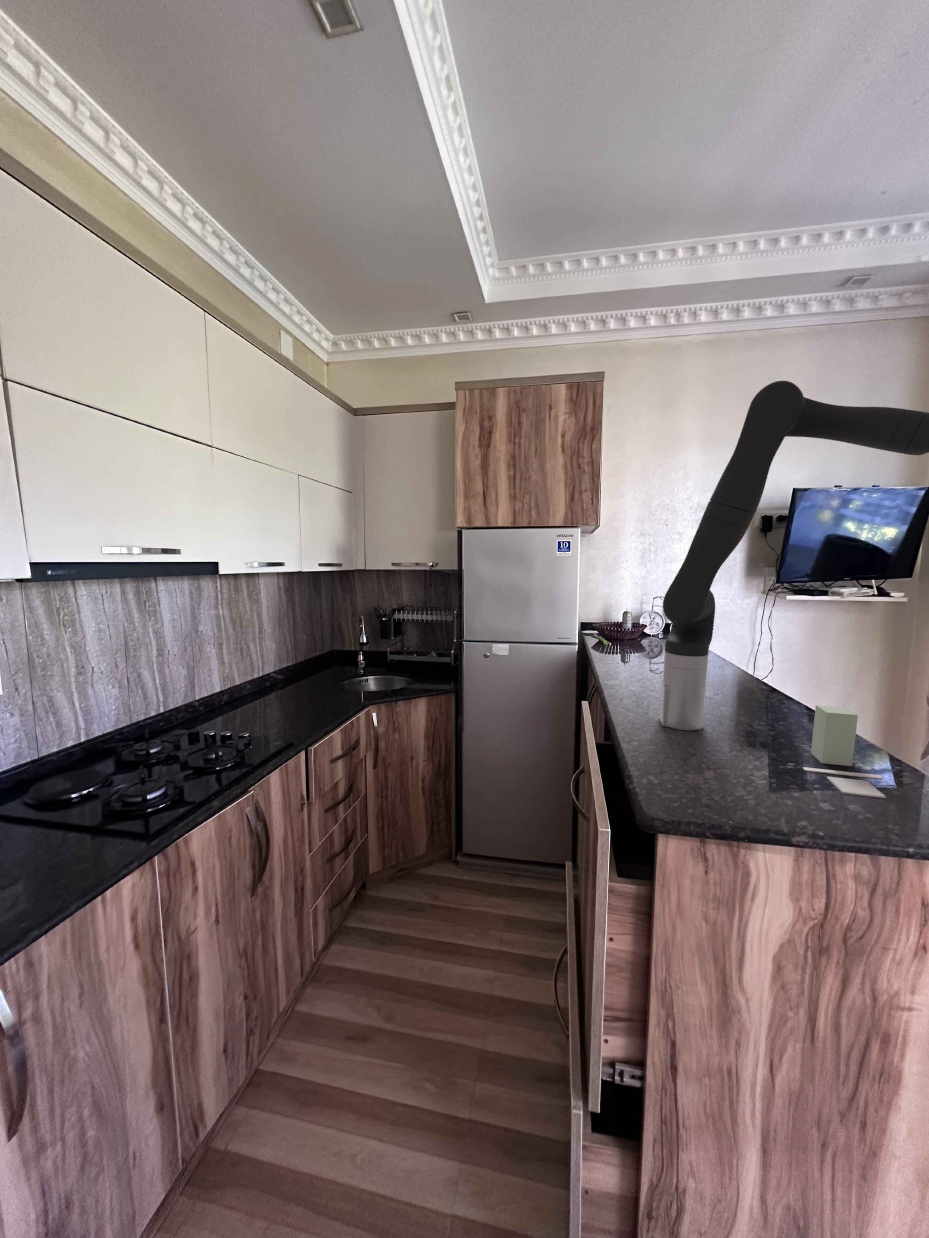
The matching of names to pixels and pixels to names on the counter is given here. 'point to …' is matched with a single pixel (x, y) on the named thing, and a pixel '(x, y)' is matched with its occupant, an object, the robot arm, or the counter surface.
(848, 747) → the sage block
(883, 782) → the counter surface
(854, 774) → the pale grey thin rod
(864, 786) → the mat
